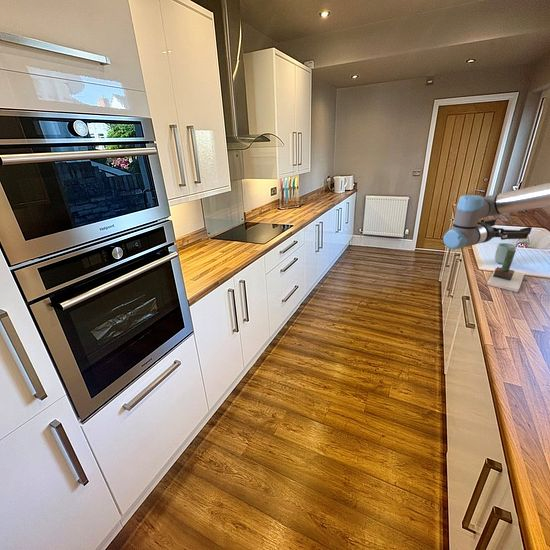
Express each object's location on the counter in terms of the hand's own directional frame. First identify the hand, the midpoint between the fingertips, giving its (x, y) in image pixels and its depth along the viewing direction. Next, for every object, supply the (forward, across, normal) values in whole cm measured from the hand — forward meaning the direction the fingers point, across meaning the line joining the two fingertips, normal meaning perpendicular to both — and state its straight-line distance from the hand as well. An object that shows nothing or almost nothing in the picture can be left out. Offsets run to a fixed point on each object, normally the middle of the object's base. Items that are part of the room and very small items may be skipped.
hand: (511, 226), depth 121 cm
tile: (+15, -2, -30) cm, 34 cm away
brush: (+14, -4, -28) cm, 32 cm away
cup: (+36, -16, -30) cm, 49 cm away
